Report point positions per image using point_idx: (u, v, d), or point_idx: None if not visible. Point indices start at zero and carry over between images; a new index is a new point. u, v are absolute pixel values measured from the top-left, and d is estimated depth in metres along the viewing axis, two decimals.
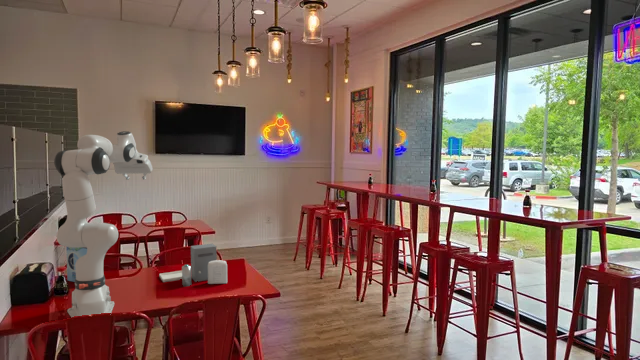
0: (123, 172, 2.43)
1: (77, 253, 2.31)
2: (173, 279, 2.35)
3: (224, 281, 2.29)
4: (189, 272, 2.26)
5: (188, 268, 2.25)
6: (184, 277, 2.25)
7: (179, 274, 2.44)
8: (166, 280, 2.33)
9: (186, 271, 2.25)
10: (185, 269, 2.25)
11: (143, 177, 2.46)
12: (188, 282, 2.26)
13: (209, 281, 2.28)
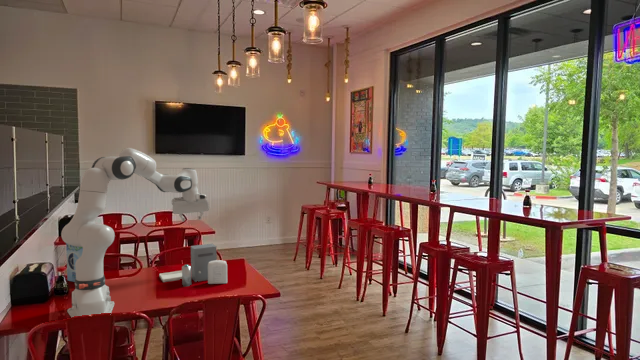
0: (182, 212, 2.42)
1: (77, 253, 2.31)
2: (173, 279, 2.35)
3: (224, 281, 2.29)
4: (189, 272, 2.26)
5: (188, 268, 2.25)
6: (184, 277, 2.25)
7: (179, 274, 2.44)
8: (166, 280, 2.33)
9: (186, 271, 2.25)
10: (185, 269, 2.25)
11: (200, 216, 2.48)
12: (188, 282, 2.26)
13: (209, 281, 2.28)
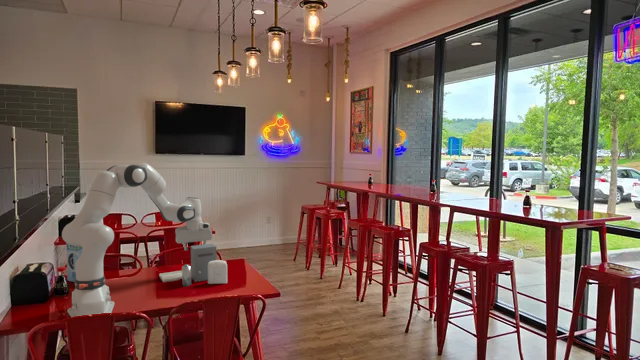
0: (185, 241, 2.43)
1: (77, 253, 2.31)
2: (173, 279, 2.35)
3: (224, 281, 2.29)
4: (189, 272, 2.26)
5: (188, 268, 2.25)
6: (184, 277, 2.25)
7: (179, 274, 2.44)
8: (166, 280, 2.33)
9: (186, 271, 2.25)
10: (185, 269, 2.25)
11: None
12: (188, 282, 2.26)
13: (209, 281, 2.28)
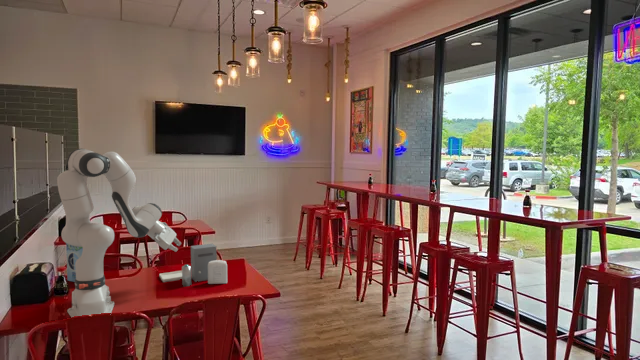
0: (170, 241, 2.18)
1: (77, 253, 2.31)
2: (173, 279, 2.35)
3: (224, 281, 2.29)
4: (189, 272, 2.26)
5: (188, 268, 2.25)
6: (184, 277, 2.25)
7: (179, 274, 2.44)
8: (166, 280, 2.33)
9: (186, 271, 2.25)
10: (185, 269, 2.25)
11: None
12: (188, 282, 2.26)
13: (209, 281, 2.28)
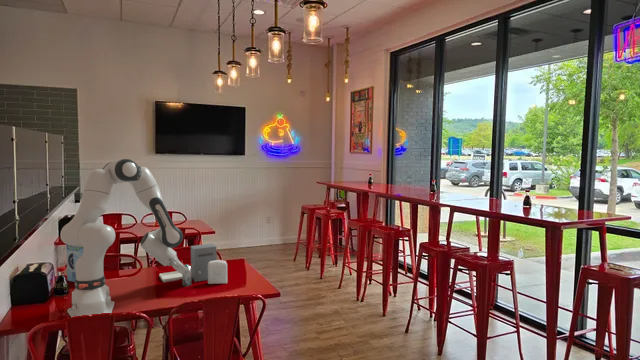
0: (184, 266, 2.21)
1: (77, 253, 2.31)
2: (173, 279, 2.35)
3: (224, 281, 2.29)
4: None
5: (188, 268, 2.25)
6: (184, 277, 2.25)
7: (179, 274, 2.44)
8: (166, 280, 2.33)
9: None
10: None
11: None
12: (188, 282, 2.26)
13: (209, 281, 2.28)
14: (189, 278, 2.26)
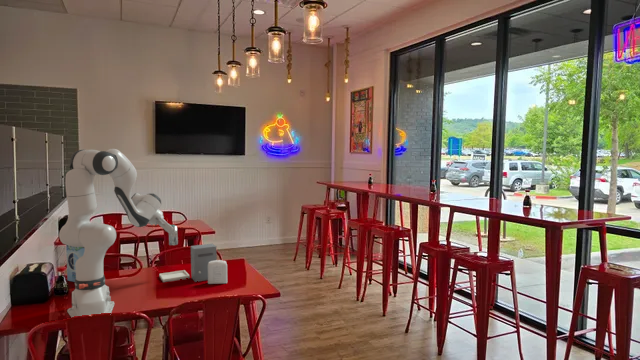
0: None
1: (77, 253, 2.31)
2: (173, 279, 2.35)
3: (224, 281, 2.29)
4: None
5: (174, 228, 2.37)
6: (170, 236, 2.37)
7: (179, 274, 2.44)
8: (166, 280, 2.33)
9: None
10: None
11: None
12: (174, 241, 2.38)
13: (209, 281, 2.28)
14: (175, 237, 2.38)
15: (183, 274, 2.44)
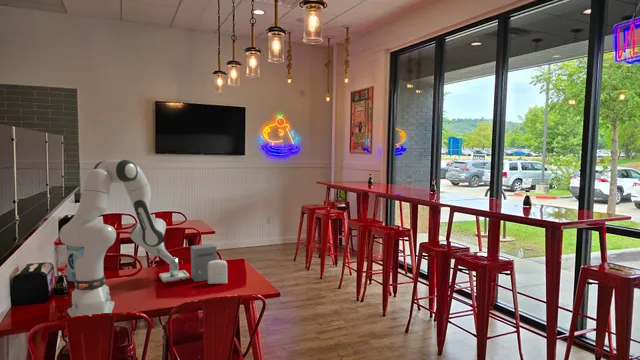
0: (171, 256, 2.34)
1: (77, 253, 2.31)
2: (173, 279, 2.35)
3: (224, 281, 2.29)
4: None
5: (175, 260, 2.39)
6: (171, 269, 2.38)
7: (179, 274, 2.44)
8: (166, 280, 2.33)
9: None
10: None
11: None
12: (175, 274, 2.39)
13: (209, 281, 2.28)
14: (176, 270, 2.39)
15: (183, 274, 2.44)
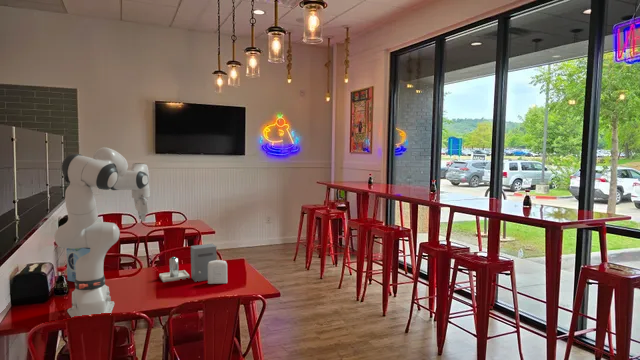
0: None
1: (77, 253, 2.31)
2: (173, 279, 2.35)
3: (224, 281, 2.29)
4: (176, 264, 2.39)
5: (175, 260, 2.39)
6: (171, 269, 2.38)
7: (179, 274, 2.44)
8: (166, 280, 2.33)
9: (173, 263, 2.38)
10: (172, 261, 2.38)
11: None
12: (175, 274, 2.39)
13: (209, 281, 2.28)
14: (176, 270, 2.39)
15: (183, 274, 2.44)
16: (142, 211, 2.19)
